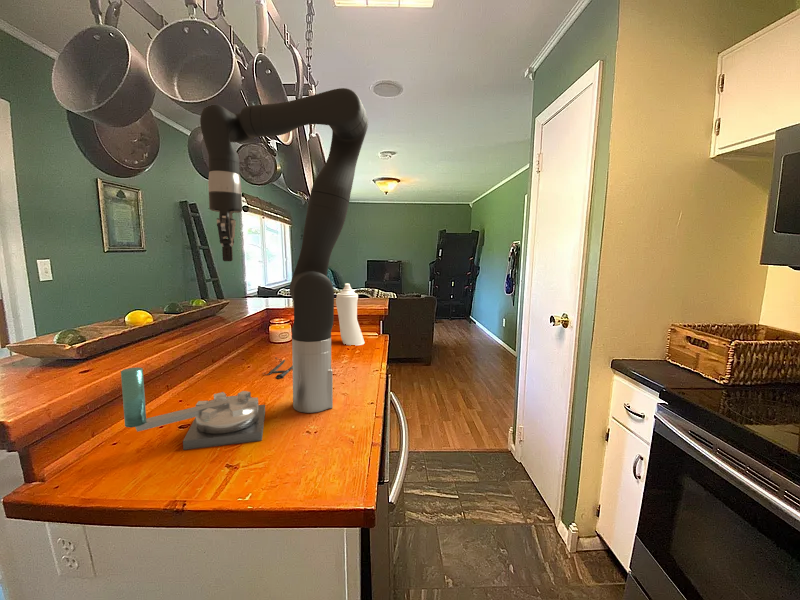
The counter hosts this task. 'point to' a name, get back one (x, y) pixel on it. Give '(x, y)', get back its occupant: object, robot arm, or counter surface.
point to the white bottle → (349, 317)
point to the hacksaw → (280, 370)
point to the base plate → (225, 434)
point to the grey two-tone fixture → (209, 414)
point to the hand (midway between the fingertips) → (227, 261)
